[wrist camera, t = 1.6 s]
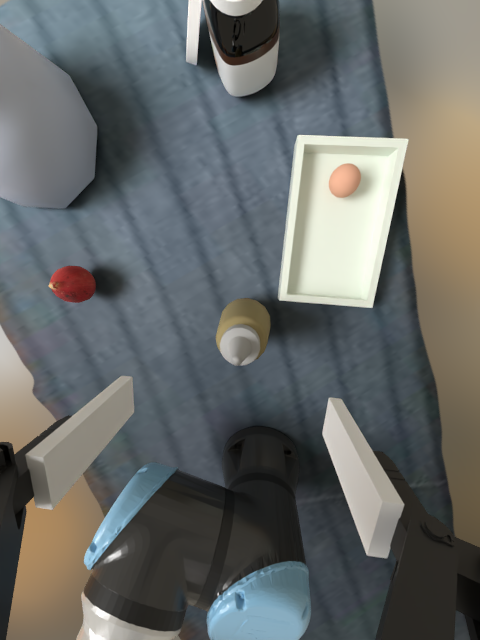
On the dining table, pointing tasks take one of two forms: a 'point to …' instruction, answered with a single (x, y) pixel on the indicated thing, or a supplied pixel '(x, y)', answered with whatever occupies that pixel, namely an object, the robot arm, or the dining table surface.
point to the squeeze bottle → (243, 331)
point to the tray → (338, 220)
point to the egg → (344, 180)
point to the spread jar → (238, 41)
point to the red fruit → (73, 284)
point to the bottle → (41, 130)
